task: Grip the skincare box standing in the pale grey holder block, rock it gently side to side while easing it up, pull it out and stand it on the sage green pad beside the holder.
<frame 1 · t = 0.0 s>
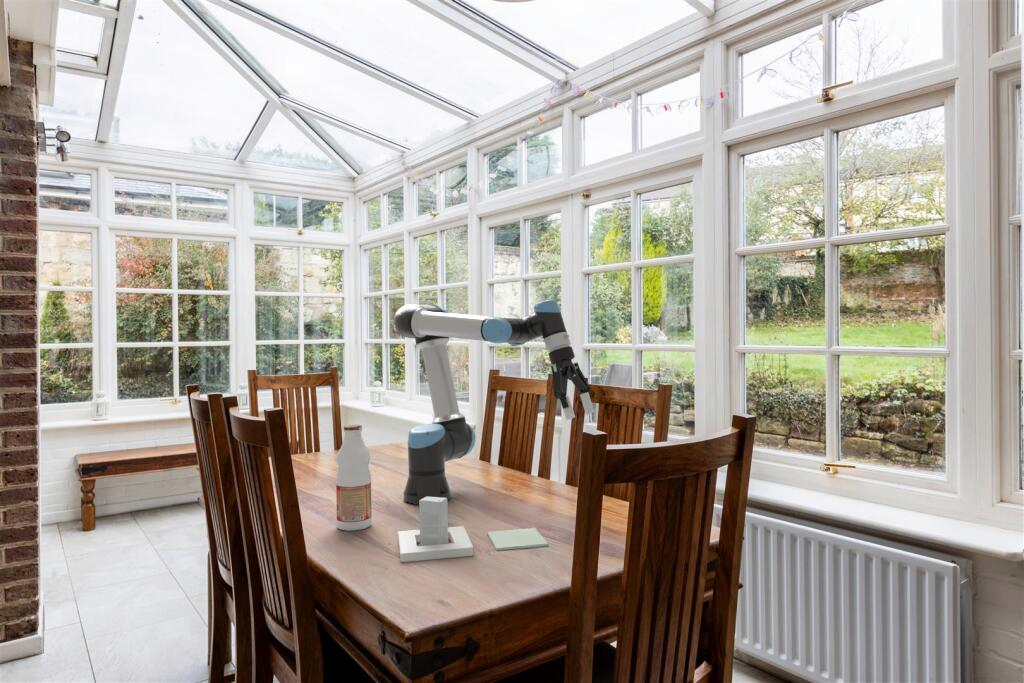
hand: (581, 416, 184), 28 cm above the table, tool tilted 20°, fingers open, 13 cm apart
pad: (516, 539, 157), on the table
skincare box: (434, 547, 152), resting in header
fruit juice: (354, 526, 170), on the table
header: (434, 546, 152), on the table
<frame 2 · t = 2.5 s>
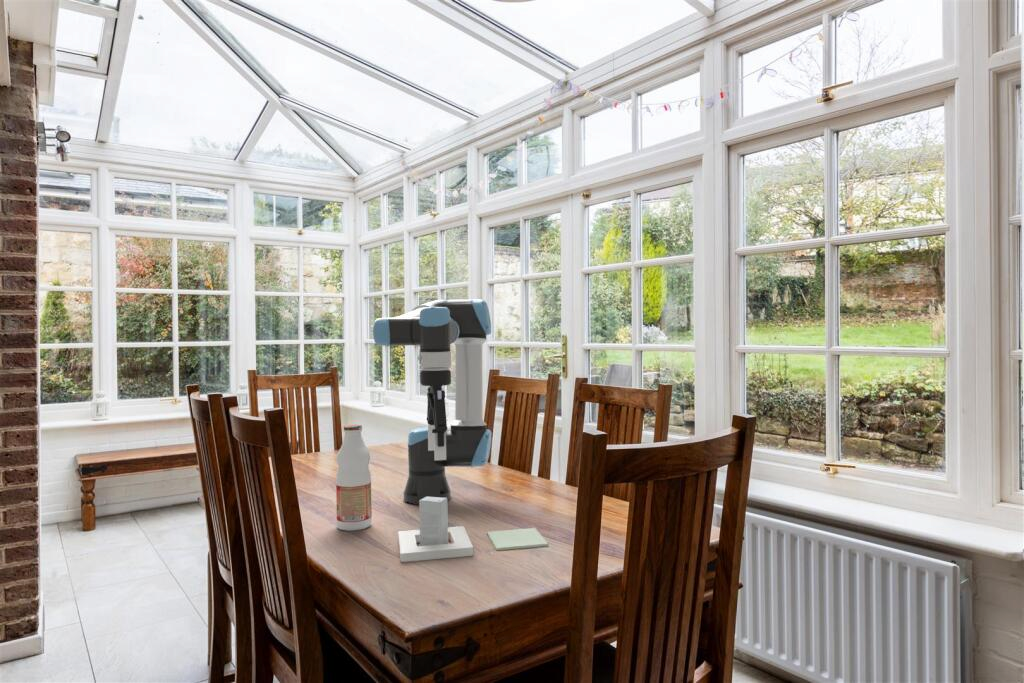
hand: (436, 455, 152), 23 cm above the table, tool pointing down, fingers open, 13 cm apart
nothing on the table moved.
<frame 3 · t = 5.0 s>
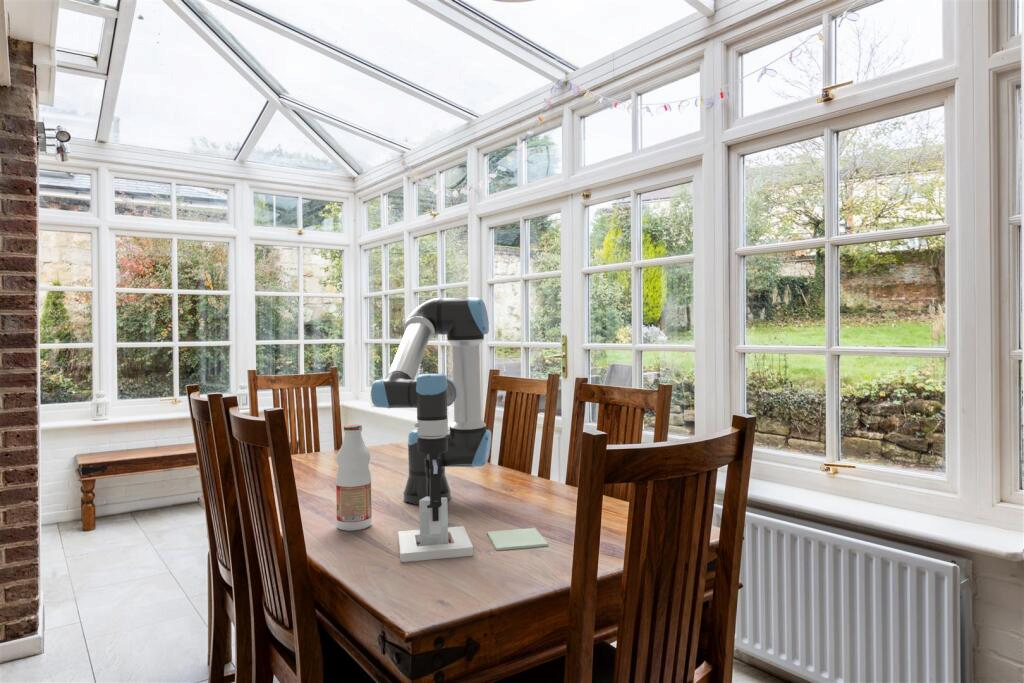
hand: (433, 528, 152), 4 cm above the table, tool pointing down, fingers closed on skincare box, 6 cm apart
skincare box: (434, 547, 152), resting in header, touching gripper
everything else where it was.
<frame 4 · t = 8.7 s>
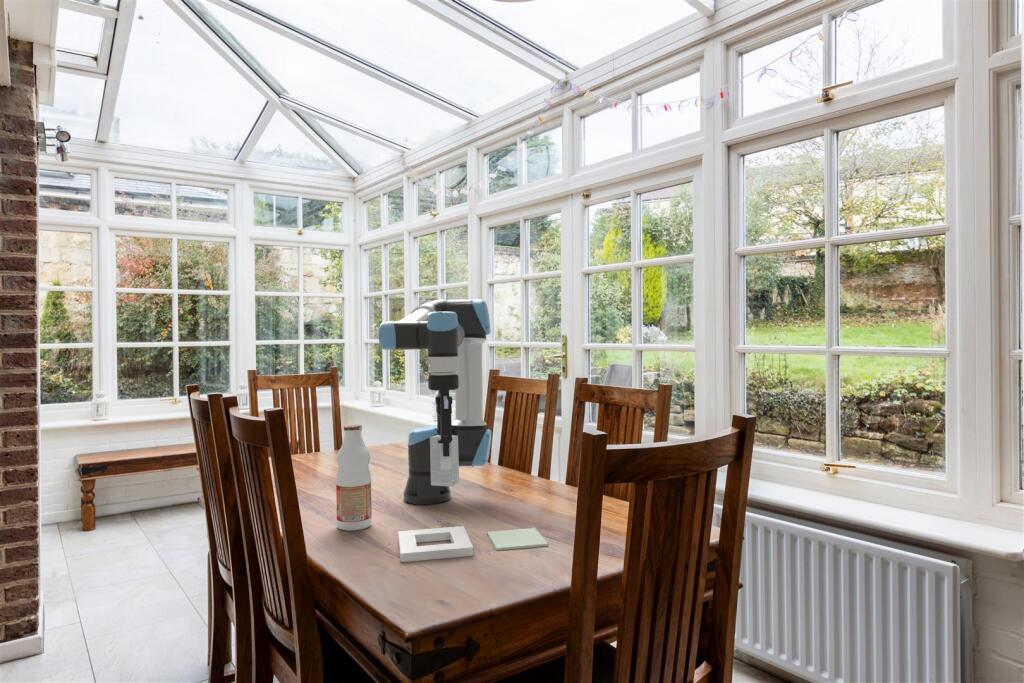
hand: (444, 466, 153), 20 cm above the table, tool pointing down, fingers closed on skincare box, 6 cm apart
skincare box: (444, 485, 153), point 15 cm above the table, touching gripper
everything else where it was.
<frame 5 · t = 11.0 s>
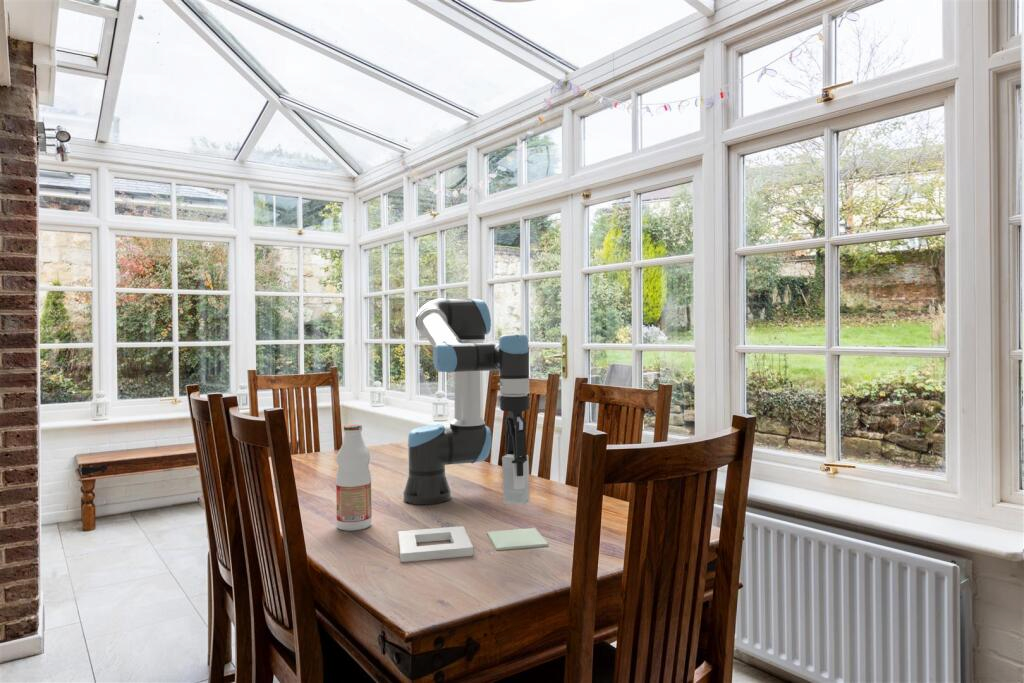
hand: (516, 485, 156), 14 cm above the table, tool pointing down, fingers closed on skincare box, 6 cm apart
skincare box: (516, 503, 156), point 9 cm above the table, touching gripper
everything else where it was.
when the fingers open (6 cm above the table, at t = 12.7 s): skincare box drops 1 cm, resting on pad.
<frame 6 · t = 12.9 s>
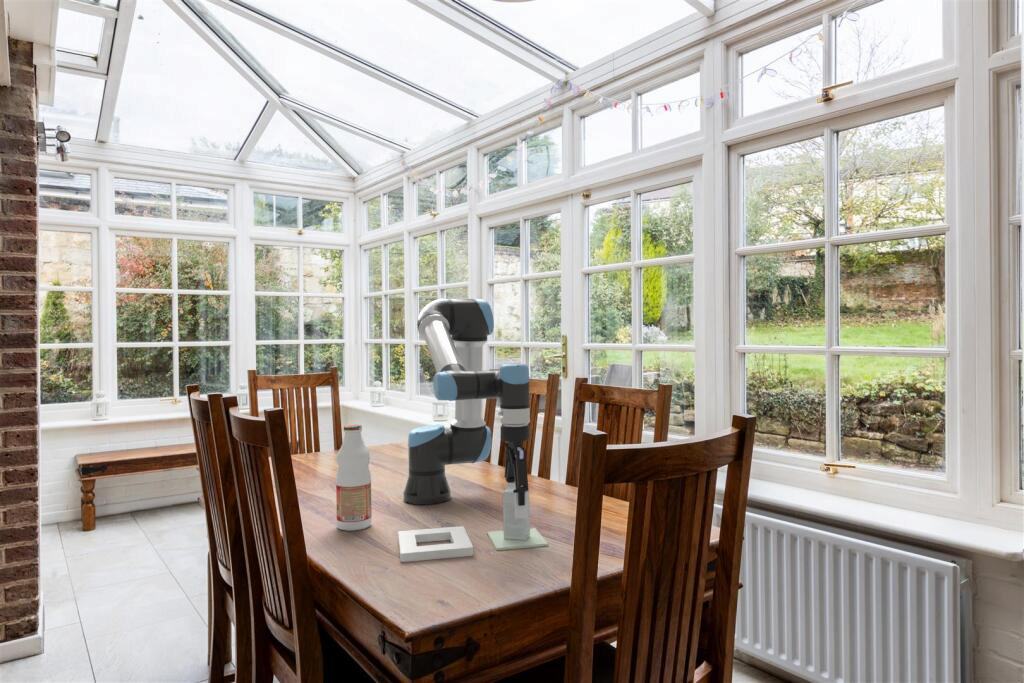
hand: (516, 512, 157), 7 cm above the table, tool pointing down, fingers open, 9 cm apart
skincare box: (516, 538, 157), resting on pad
everything else where it was.
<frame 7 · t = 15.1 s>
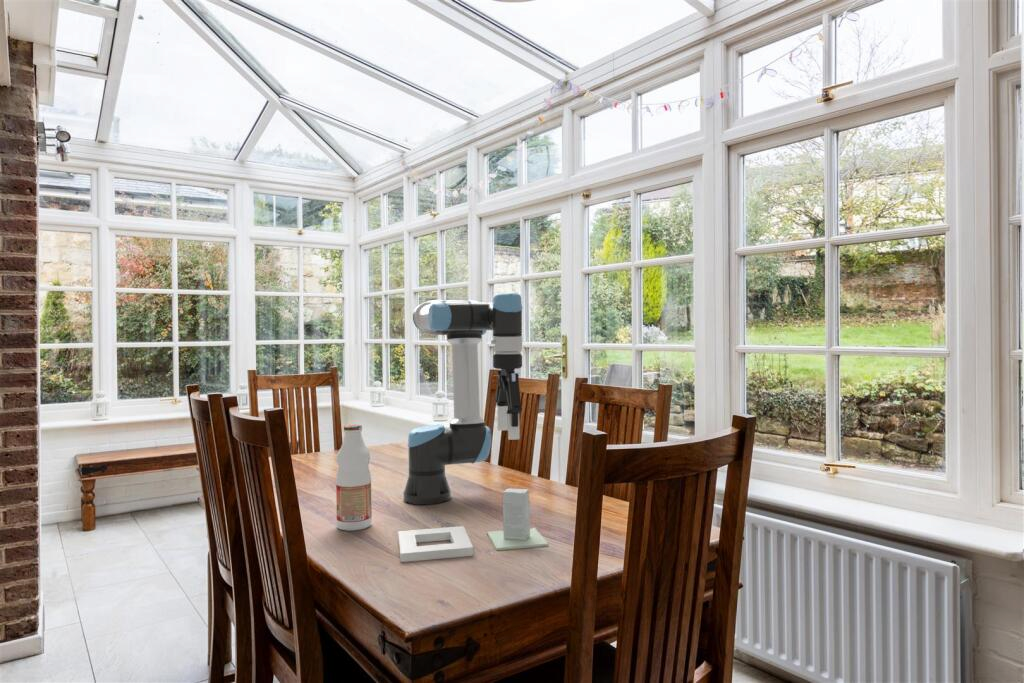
hand: (508, 434, 160), 26 cm above the table, tool pointing down, fingers open, 13 cm apart
nothing on the table moved.
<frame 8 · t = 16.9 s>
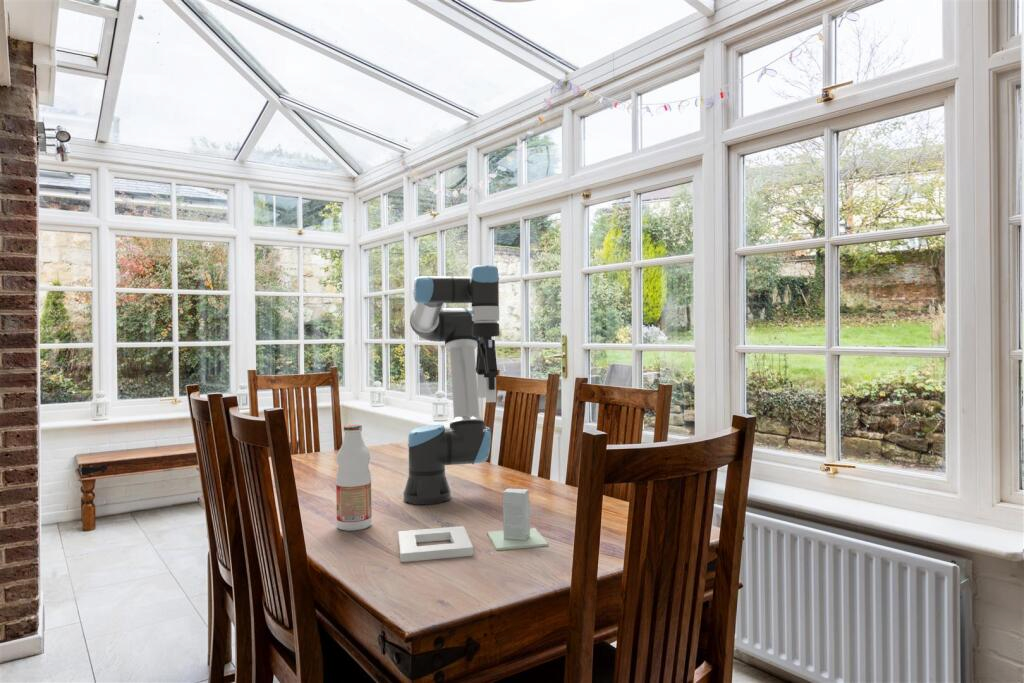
hand: (486, 399, 168), 35 cm above the table, tool pointing down, fingers open, 13 cm apart
nothing on the table moved.
at the end: skincare box inside the target area on the pad (0.2 cm from its centre), point 0.4 cm above the pad's base; skincare box tilted 0°; skincare box touching pad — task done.
